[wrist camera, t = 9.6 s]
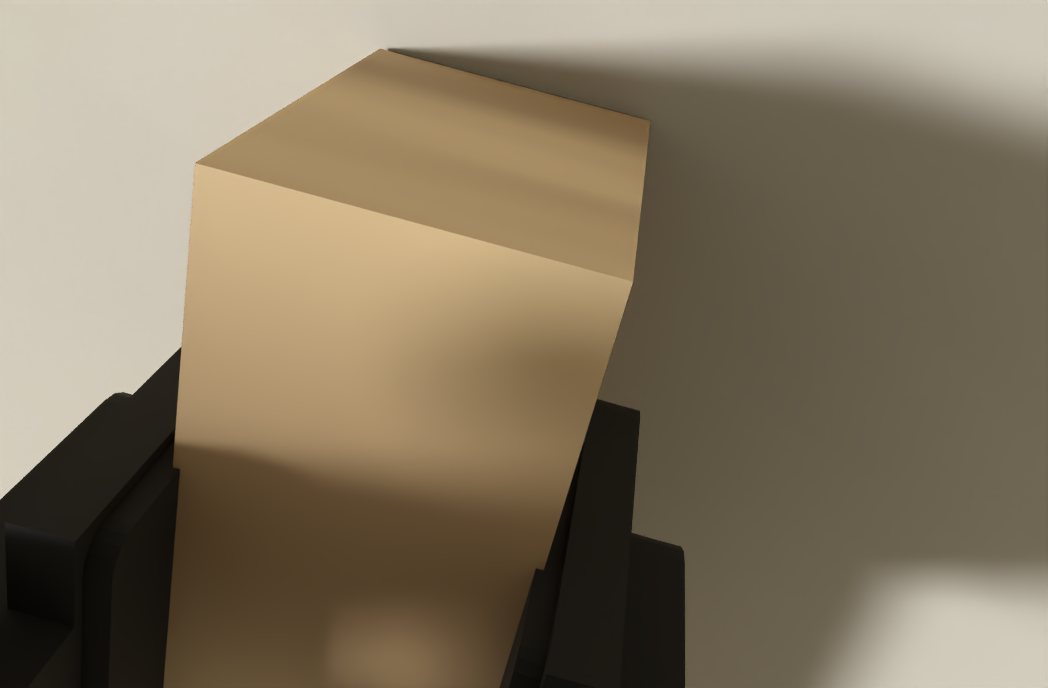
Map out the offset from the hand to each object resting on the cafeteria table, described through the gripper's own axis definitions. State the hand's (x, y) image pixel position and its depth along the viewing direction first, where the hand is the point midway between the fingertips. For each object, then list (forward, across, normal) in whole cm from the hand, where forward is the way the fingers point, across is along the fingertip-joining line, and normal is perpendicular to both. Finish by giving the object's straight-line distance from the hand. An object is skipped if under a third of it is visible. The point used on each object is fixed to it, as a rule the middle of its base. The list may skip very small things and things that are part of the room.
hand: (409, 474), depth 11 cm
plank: (+2, 0, +6) cm, 6 cm away
